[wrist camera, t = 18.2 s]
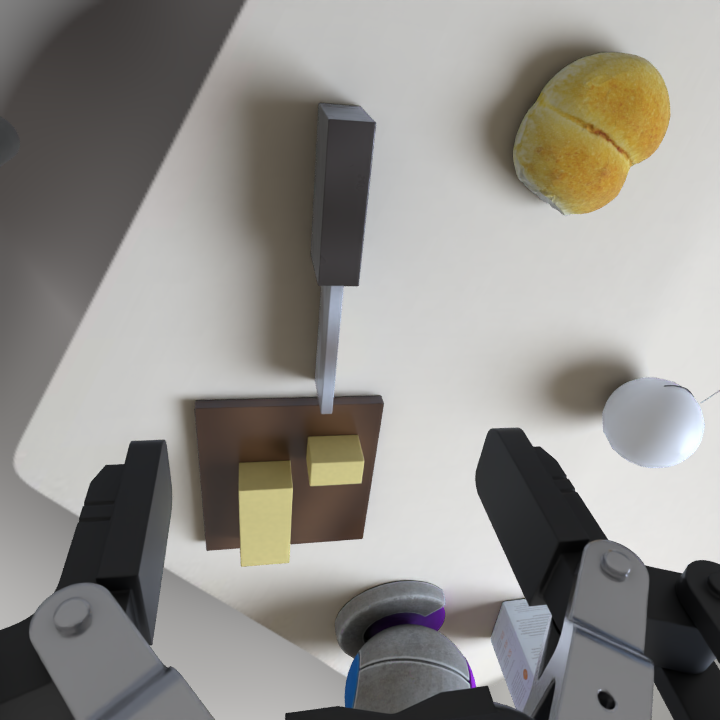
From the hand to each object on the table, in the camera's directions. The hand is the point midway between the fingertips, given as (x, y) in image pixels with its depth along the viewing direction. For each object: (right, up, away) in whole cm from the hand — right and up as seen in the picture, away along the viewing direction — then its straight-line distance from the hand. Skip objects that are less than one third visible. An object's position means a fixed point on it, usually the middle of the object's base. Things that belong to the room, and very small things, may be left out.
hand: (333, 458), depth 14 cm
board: (-5, -7, +32) cm, 33 cm away
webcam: (+4, -26, +47) cm, 54 cm away
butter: (-7, -9, +32) cm, 34 cm away
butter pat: (-2, -4, +30) cm, 30 cm away
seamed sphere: (+25, 0, +34) cm, 42 cm away
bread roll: (+14, +17, +20) cm, 30 cm away
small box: (+19, -28, +52) cm, 62 cm away
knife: (-1, +9, +22) cm, 24 cm away
